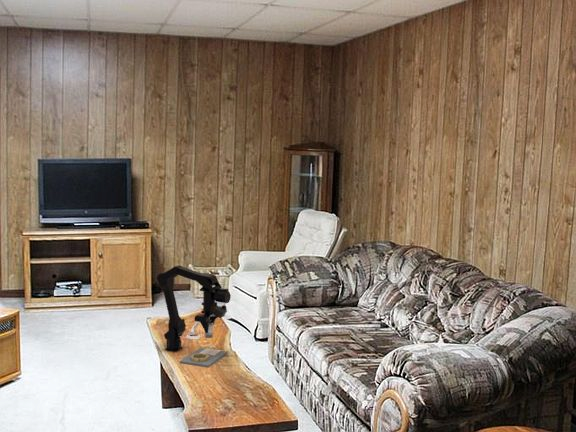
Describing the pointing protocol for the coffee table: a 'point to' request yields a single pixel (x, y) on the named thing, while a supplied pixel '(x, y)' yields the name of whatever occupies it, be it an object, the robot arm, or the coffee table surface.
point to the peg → (209, 331)
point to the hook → (194, 332)
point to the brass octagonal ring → (195, 359)
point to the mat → (210, 351)
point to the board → (204, 364)
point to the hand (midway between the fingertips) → (208, 331)
